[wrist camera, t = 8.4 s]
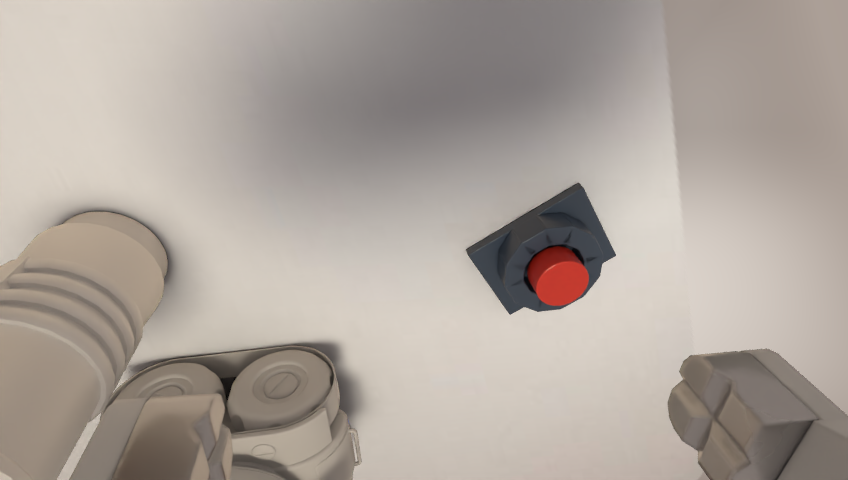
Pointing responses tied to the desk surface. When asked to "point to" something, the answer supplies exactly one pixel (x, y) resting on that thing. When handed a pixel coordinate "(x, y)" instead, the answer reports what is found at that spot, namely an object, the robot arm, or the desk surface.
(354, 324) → the desk surface
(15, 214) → the desk surface
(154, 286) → the beige grooved canister
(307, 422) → the toy tank
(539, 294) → the button
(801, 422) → the robot arm
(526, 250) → the button housing
